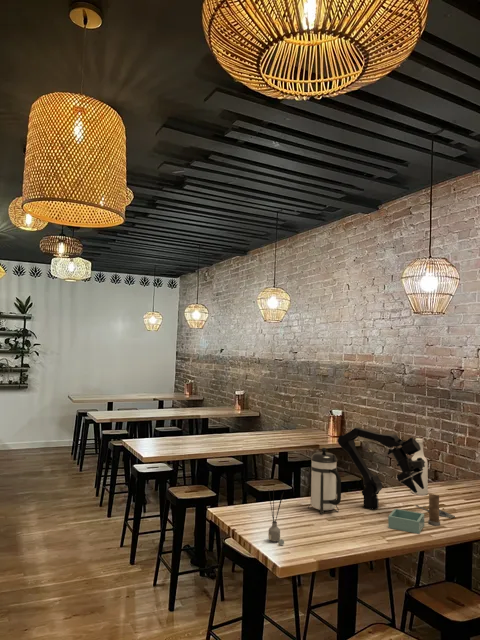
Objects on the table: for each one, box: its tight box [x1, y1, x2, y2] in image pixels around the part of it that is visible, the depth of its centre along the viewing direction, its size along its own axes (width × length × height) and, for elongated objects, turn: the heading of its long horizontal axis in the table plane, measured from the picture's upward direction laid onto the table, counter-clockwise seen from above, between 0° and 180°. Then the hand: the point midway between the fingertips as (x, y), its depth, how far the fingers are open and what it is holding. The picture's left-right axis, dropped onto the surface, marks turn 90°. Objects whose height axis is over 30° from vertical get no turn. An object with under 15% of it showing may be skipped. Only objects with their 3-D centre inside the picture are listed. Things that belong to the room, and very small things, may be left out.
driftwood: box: [415, 504, 456, 520], centre depth 237 cm, size 21×7×2 cm, turn 22°
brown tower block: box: [427, 493, 441, 527], centre depth 220 cm, size 5×5×13 cm
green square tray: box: [387, 508, 425, 535], centre depth 215 cm, size 13×13×5 cm
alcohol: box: [410, 437, 429, 496], centre depth 270 cm, size 9×9×30 cm
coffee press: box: [307, 447, 342, 515], centre depth 235 cm, size 17×16×30 cm
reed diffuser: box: [268, 489, 285, 546], centre depth 195 cm, size 10×7×20 cm
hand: (419, 490), depth 226 cm, fingers open, 9 cm apart
